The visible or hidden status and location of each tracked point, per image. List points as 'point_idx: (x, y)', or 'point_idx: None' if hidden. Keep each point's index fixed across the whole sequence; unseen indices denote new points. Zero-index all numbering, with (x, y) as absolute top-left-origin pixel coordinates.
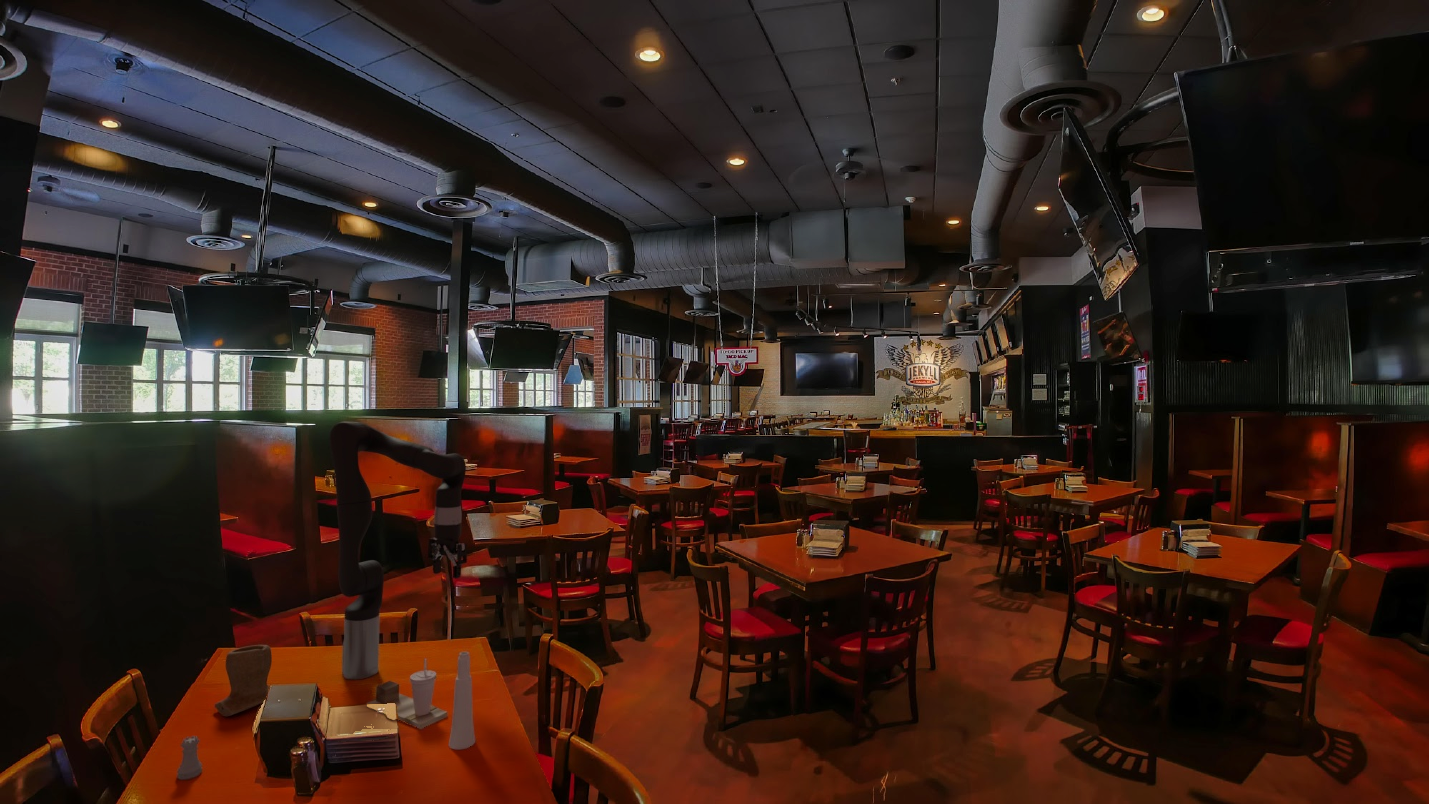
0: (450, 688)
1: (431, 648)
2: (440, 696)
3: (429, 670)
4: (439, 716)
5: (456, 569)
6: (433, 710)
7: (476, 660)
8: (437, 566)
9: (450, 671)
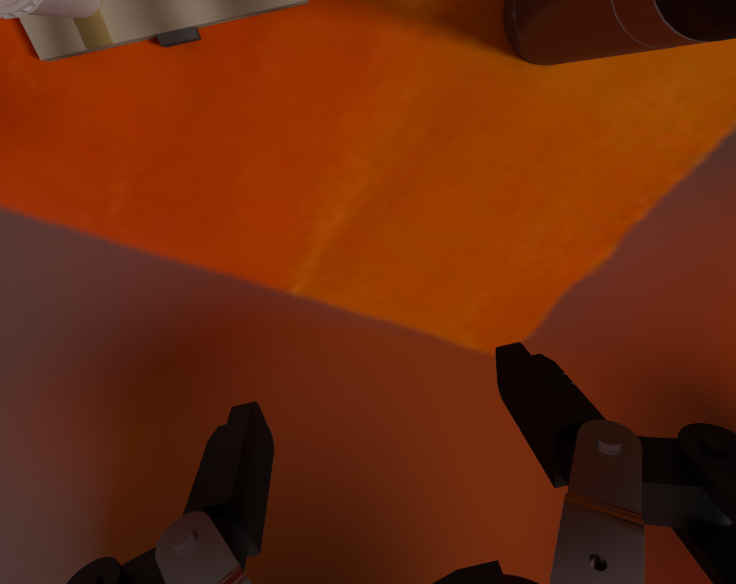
0: (248, 167)
1: (543, 255)
2: (211, 118)
3: (25, 2)
4: (25, 25)
5: (201, 487)
6: (75, 29)
7: (378, 302)
8: (525, 409)
9: (360, 221)
